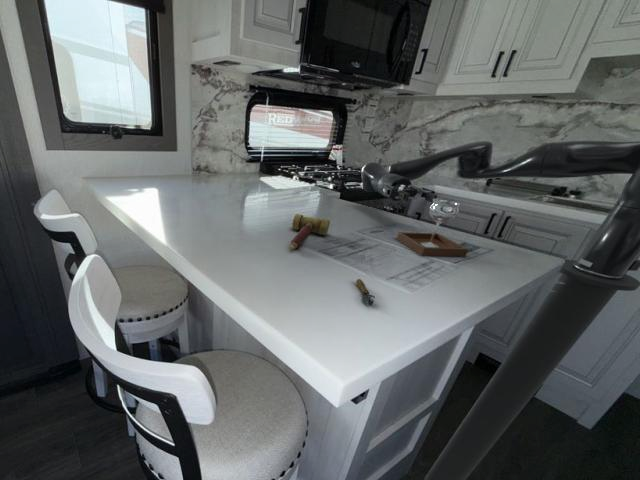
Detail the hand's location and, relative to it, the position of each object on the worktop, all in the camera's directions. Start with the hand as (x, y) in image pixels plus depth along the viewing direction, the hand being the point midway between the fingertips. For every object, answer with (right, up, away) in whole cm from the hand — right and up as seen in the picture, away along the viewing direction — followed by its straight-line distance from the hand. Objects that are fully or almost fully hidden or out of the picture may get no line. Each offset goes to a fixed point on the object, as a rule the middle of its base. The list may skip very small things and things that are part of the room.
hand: (421, 198), depth 90 cm
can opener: (-29, -29, -30) cm, 51 cm away
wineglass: (0, -15, -4) cm, 15 cm away
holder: (0, -15, -3) cm, 15 cm away
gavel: (-36, -13, -5) cm, 39 cm away
